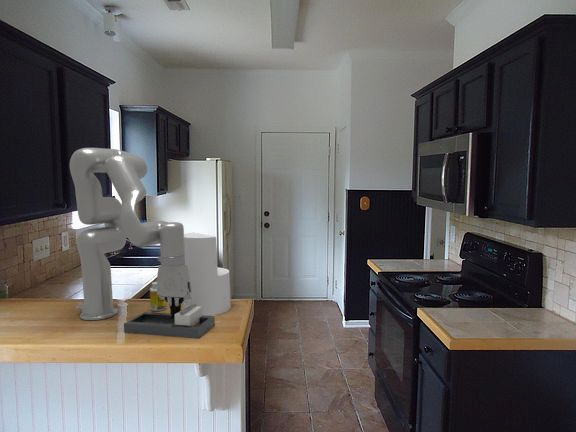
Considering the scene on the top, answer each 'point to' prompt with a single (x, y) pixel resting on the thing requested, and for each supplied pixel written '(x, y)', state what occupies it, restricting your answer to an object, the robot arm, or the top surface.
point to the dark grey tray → (167, 325)
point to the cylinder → (206, 275)
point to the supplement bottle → (156, 299)
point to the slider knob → (188, 315)
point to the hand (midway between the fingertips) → (176, 316)
